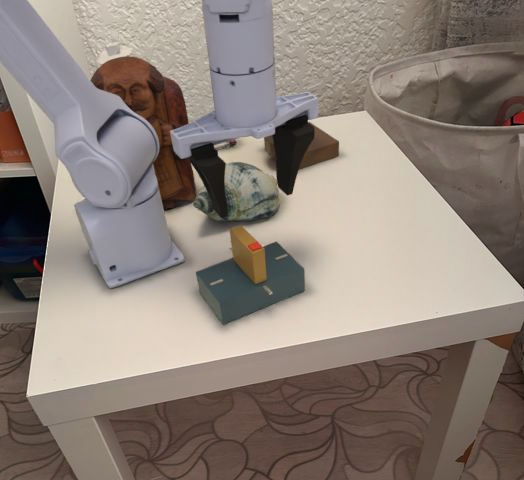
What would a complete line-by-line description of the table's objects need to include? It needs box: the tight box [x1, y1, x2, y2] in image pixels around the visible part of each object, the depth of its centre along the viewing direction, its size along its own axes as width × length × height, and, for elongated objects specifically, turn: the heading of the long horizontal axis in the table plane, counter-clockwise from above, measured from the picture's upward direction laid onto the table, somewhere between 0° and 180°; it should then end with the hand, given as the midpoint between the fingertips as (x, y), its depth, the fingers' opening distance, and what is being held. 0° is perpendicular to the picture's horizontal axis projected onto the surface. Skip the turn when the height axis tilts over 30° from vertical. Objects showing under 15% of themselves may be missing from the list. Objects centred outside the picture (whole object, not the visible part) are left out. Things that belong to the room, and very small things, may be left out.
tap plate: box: [195, 241, 306, 325], centre depth 59 cm, size 10×9×3 cm
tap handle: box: [229, 225, 267, 285], centre depth 56 cm, size 5×1×4 cm, turn 29°
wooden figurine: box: [90, 56, 197, 211], centre depth 68 cm, size 12×6×18 cm, turn 108°
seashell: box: [192, 161, 280, 223], centre depth 69 cm, size 6×8×12 cm
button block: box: [263, 121, 340, 170], centre depth 80 cm, size 10×8×4 cm
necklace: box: [214, 139, 238, 150], centre depth 85 cm, size 4×6×1 cm, turn 74°
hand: (253, 201), depth 57 cm, fingers open, 7 cm apart
